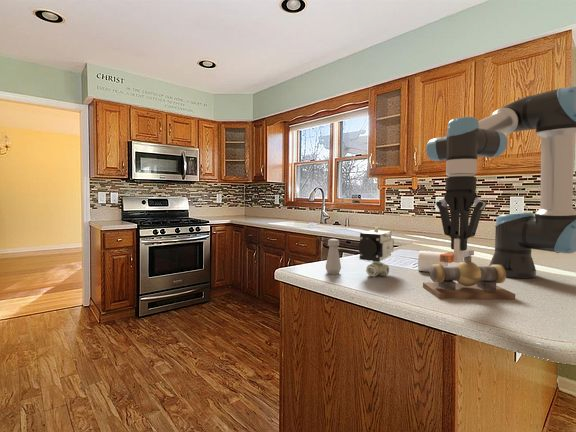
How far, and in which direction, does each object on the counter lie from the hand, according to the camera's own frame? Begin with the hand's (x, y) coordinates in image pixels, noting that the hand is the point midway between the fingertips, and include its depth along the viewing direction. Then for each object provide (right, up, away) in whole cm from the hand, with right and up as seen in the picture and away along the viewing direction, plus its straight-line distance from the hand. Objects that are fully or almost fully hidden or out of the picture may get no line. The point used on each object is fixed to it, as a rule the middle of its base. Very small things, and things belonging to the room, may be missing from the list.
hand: (458, 261), depth 95 cm
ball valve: (-14, -10, +33) cm, 37 cm away
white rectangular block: (+10, -9, +40) cm, 42 cm away
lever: (+2, 0, +5) cm, 5 cm away
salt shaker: (-30, -9, +35) cm, 47 cm away
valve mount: (+8, -11, +10) cm, 17 cm away
